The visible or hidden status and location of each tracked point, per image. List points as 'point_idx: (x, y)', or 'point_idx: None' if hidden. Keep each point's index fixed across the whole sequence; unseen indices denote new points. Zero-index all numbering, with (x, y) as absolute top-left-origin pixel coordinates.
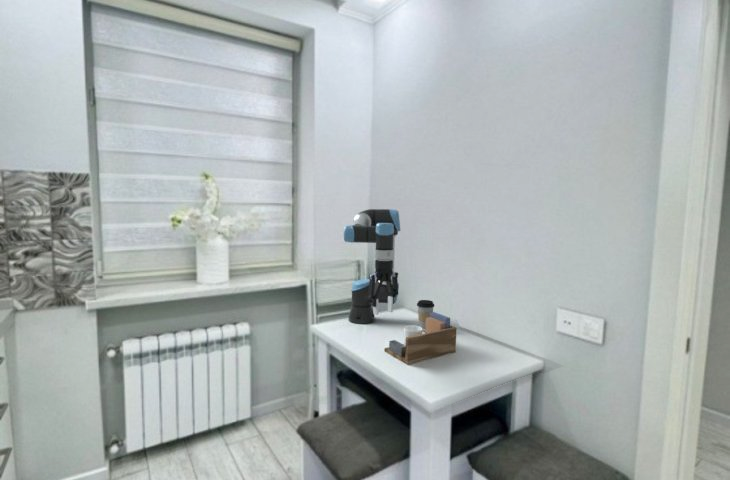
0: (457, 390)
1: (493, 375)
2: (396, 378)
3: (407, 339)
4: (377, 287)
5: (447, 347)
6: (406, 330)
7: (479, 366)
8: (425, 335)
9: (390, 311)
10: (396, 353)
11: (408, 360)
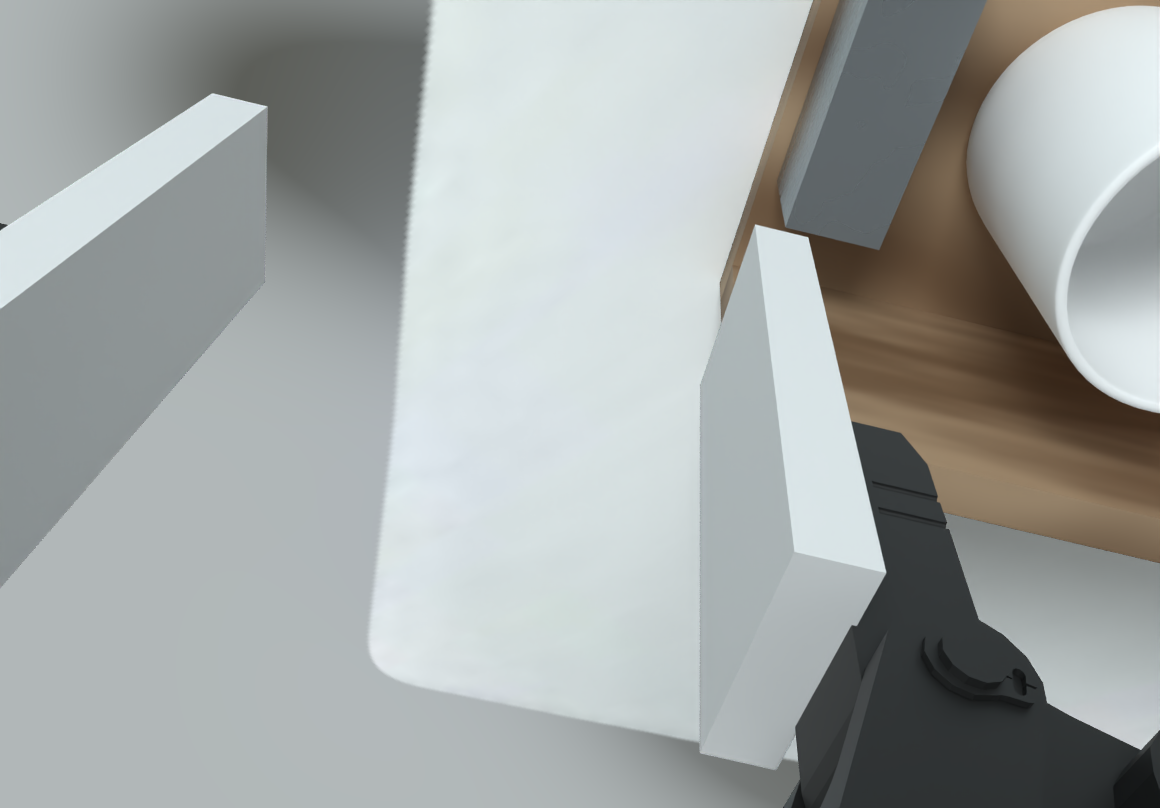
0: (615, 714)
1: None
2: (410, 378)
3: None
4: None
5: None
6: (1066, 241)
7: (1121, 688)
8: (1038, 526)
9: (709, 363)
10: (811, 82)
11: None
